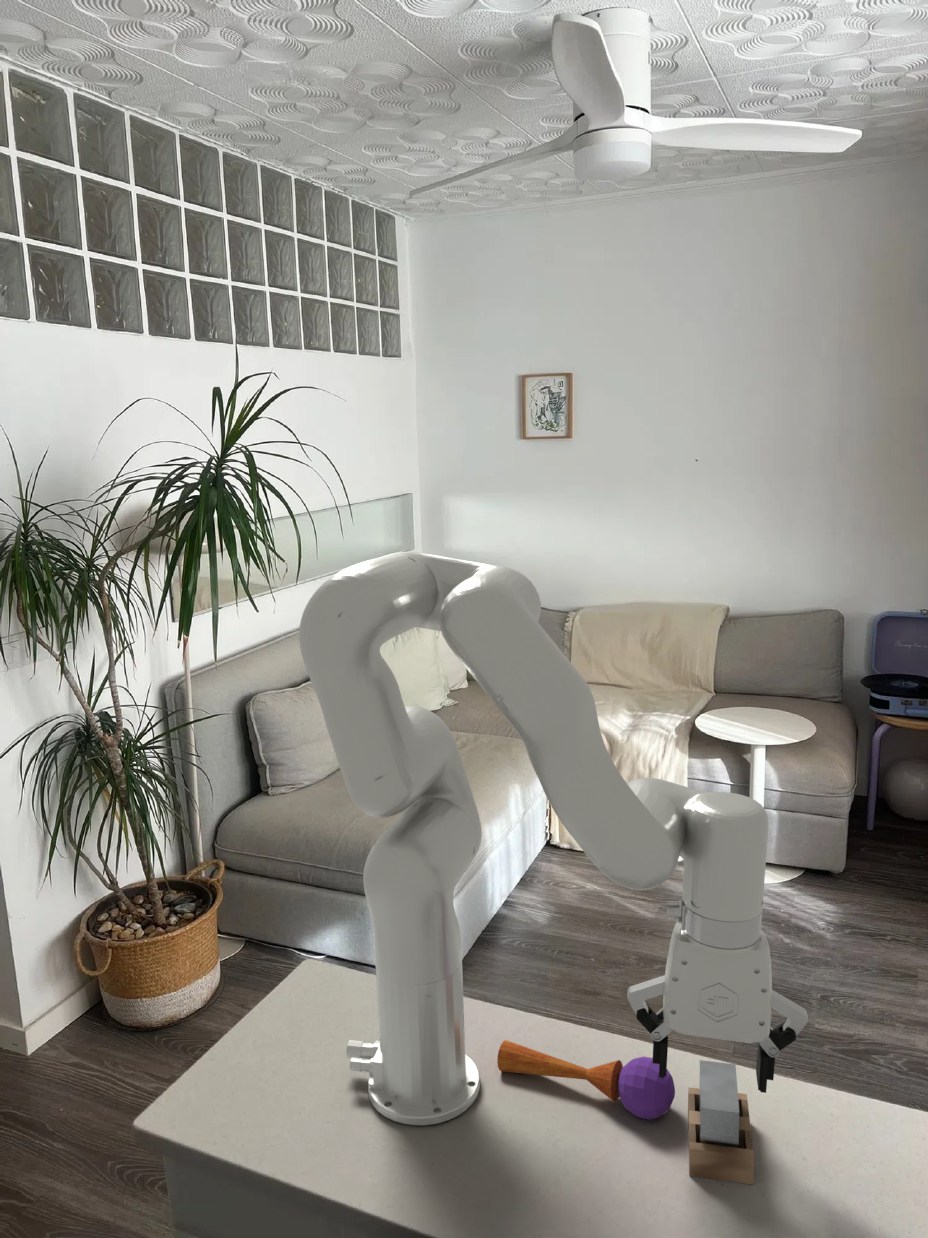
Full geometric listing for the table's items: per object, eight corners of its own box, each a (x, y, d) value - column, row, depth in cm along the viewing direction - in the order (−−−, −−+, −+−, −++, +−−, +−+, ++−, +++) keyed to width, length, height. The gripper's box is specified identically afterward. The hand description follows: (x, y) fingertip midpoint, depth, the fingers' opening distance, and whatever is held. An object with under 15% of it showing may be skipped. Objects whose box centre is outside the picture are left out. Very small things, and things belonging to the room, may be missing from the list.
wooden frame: (689, 1175, 92) (689, 1149, 91) (687, 1112, 100) (688, 1087, 100) (753, 1184, 90) (753, 1157, 90) (746, 1119, 99) (746, 1094, 98)
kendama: (514, 1020, 111) (680, 1054, 101) (514, 1071, 111) (681, 1109, 101) (491, 1039, 106) (665, 1077, 96) (492, 1092, 106) (665, 1135, 96)
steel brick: (699, 1171, 92) (700, 1108, 91) (698, 1119, 99) (699, 1060, 98) (737, 1176, 91) (739, 1113, 90) (734, 1124, 98) (735, 1064, 97)
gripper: (629, 929, 89) (622, 1088, 92) (820, 951, 85) (806, 1116, 89) (632, 892, 96) (626, 1041, 99) (809, 911, 93) (796, 1064, 96)
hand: (711, 1076), depth 94 cm, fingers open, 9 cm apart
